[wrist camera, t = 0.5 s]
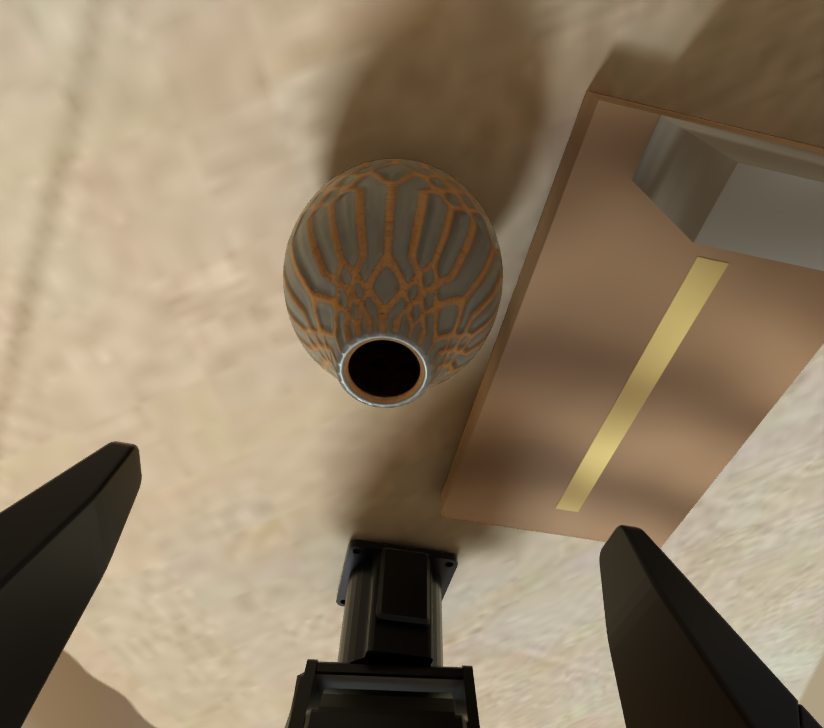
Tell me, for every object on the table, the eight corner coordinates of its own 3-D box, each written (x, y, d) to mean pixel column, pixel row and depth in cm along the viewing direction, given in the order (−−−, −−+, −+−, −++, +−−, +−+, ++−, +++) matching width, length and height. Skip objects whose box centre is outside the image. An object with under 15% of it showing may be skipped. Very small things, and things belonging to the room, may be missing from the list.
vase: (498, 135, 18) (544, 240, 11) (484, 312, 22) (511, 471, 15) (295, 136, 18) (213, 240, 11) (317, 311, 22) (268, 468, 15)
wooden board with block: (649, 526, 30) (696, 643, 25) (440, 494, 29) (444, 609, 24) (916, 170, 19) (1109, 249, 13) (586, 90, 17) (655, 143, 12)
